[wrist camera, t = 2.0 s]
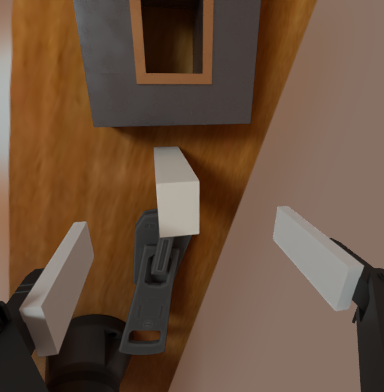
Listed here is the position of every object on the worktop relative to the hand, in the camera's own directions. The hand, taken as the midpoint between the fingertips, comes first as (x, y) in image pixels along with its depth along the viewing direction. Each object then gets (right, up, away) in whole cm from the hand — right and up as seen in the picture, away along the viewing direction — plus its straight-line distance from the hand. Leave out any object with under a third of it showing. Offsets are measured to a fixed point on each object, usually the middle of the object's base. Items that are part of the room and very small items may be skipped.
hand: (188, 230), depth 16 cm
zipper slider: (-7, -11, +25) cm, 28 cm away
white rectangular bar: (-3, +7, +18) cm, 20 cm away
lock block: (-3, +21, +12) cm, 25 cm away
